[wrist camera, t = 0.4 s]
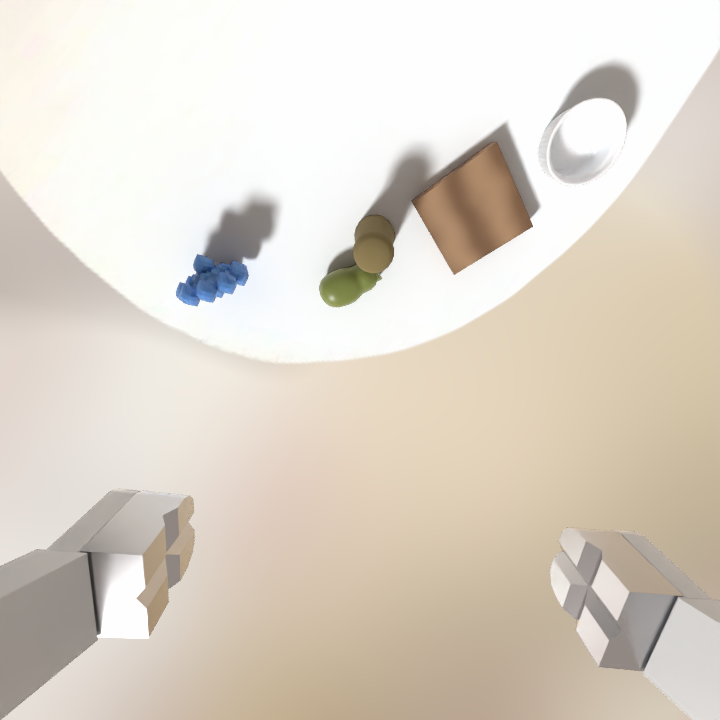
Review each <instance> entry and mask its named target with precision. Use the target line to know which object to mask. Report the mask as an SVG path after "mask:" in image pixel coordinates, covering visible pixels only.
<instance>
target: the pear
mask: <svg viewBox="0 0 720 720" xmlns="http://www.w3.org/2000/svg"><path fill="white" fill-rule="evenodd" d="M379 274H380V272H378V273H368V272H365V271H364V270H362V269H361V268H360V267H359V266H358V265H357V264H356V265H354V266H352V267H349V268H341V269H338V270H335V271H333V272H331V273H329V274H328V275H326V276H325V277H324V278H323V279H322V281H321V283H320V286H319V291H320V295H321V297H322V299H323V300H324V302H325V303H326V304H328V305H329V306H332V307H342V306H346V305H349V304H351V303H353V302H355V301H356V300H357V299H358V298H359V297H360V296H361V295H362V294H363V293H365V292H367V291H369V290H371V289H372V288H373V287H374V286H375V285H376V282H377V281H379V280H381V279H382V277H381V276H379Z"/></svg>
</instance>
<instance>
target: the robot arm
mask: <svg viewBox="0 0 720 720" xmlns="http://www.w3.org/2000/svg"><path fill="white" fill-rule="evenodd" d="M193 513H194V504H193V498H191V497H190V496H188V495H179V494H169V493H160V492H150V491H138V490H128V489H115V490H112V491H110V492H109V493H108V494H107V495H106V496H104V497H103V498H102V499H101V500H100V501H99V502H98V503H97V504H96V505H95V506H93V507H92V509H90V510H89V511H88V512H87V513H86V514H85V515H84V516H83V517H81V518H80V519H79V520H78V521H77V522H76V523H75V524H74V525H73V526H72V527H71V528H69V530H67V531H66V532H65V533H64V534H63V535H62V536H61V537H60V538H59V539H57V541H55V542H54V543H53V544H52V545H51V546H50V547H49V548H48V549H47V550H40V549H37V550H34V551H33V552H30V553H28V554H26V555H23V556H21V557H19V558H17V559H15V560H12V561H11V562H8V563H6V564H4V565H1V566H0V720H1V719H2V718H4V717H5V716H6V715H7V714H8V713H10V712H11V711H12V710H13V709H15V708H16V707H17V706H18V705H19V704H21V703H22V702H23V701H24V700H25V699H27V698H28V697H29V696H30V695H32V694H33V693H34V692H35V691H36V690H38V689H39V688H40V687H41V686H42V685H44V684H45V683H46V682H47V681H48V680H50V679H51V678H52V677H53V676H55V675H56V674H57V673H58V672H59V671H60V670H62V669H63V668H64V667H65V666H66V665H68V664H69V663H70V662H72V661H73V660H74V659H75V658H76V657H78V656H79V655H80V654H81V653H83V652H84V651H85V650H86V649H87V648H88V647H90V646H91V645H92V644H93V643H95V642H96V641H97V640H98V637H126V638H149V636H150V634H151V632H152V631H153V629H154V627H155V625H156V624H157V622H158V620H159V618H160V616H161V615H162V613H163V611H164V609H165V608H166V606H167V604H168V602H169V601H168V589H169V588H171V587H172V586H173V585H175V584H176V583H178V582H179V581H180V580H181V578H182V576H183V575H184V572H185V571H186V569H187V567H188V564H189V561H190V558H191V555H192V552H193V546H194V529H193V528H192V526H191V525H190V524H189V523H188V521H189V519H190V518H191V516H192V515H193ZM559 544H560V546H561V548H562V551H561V552H560V553H559V554H558V555H556V556H555V557H554V558H553V560H552V564H551V568H550V578H551V585H552V588H553V591H554V594H555V596H556V598H557V600H558V601H559V603H560V605H561V606H562V608H563V609H564V610H566V611H567V612H568V613H569V614H571V615H572V616H573V617H574V618H575V619H576V631H577V633H578V634H579V636H580V638H581V639H582V641H583V642H584V644H585V646H586V647H587V649H588V651H589V652H590V654H591V656H592V657H593V659H594V660H595V662H596V663H597V665H598V667H604V668H615V669H625V670H635V671H644V672H643V675H644V676H645V677H647V679H649V680H650V681H651V682H652V683H653V684H654V685H655V686H656V687H657V688H658V689H659V690H660V691H662V692H663V693H664V694H665V695H666V696H667V697H668V698H669V699H670V700H671V701H672V702H673V703H674V704H676V705H677V706H678V707H679V708H680V709H681V710H682V711H683V712H684V713H685V714H686V715H687V716H688V717H689V718H690V719H691V720H720V600H713V599H711V598H710V597H709V596H708V595H707V594H706V593H705V592H704V591H703V590H702V589H701V588H700V587H698V586H697V585H696V584H695V583H694V582H693V581H692V580H691V579H690V578H689V577H688V576H687V575H685V574H684V573H683V572H682V571H681V570H680V569H679V568H678V567H677V566H676V565H675V564H674V563H673V562H671V561H670V560H669V559H668V558H667V557H666V556H665V555H664V554H663V553H662V552H661V551H659V550H658V549H657V548H656V547H655V546H654V545H653V544H652V543H651V542H649V540H648V539H647V538H645V537H644V536H643V535H641V534H639V533H637V532H634V531H619V530H611V531H607V530H596V529H582V528H570V527H567V528H566V529H565V530H564V531H563V532H562V533H561V536H560V539H559Z"/></svg>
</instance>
